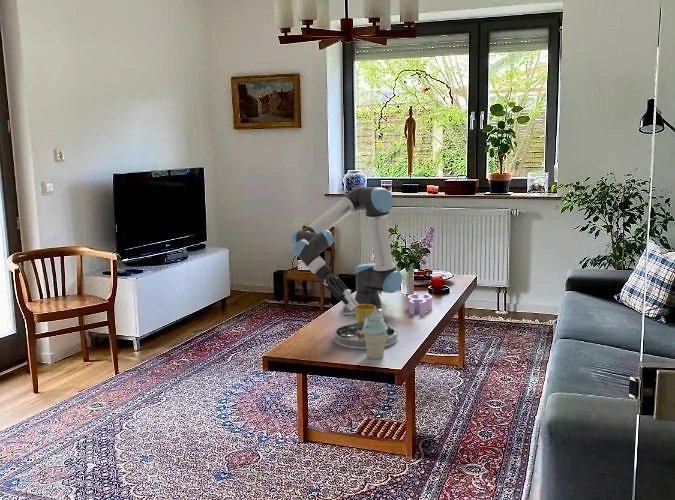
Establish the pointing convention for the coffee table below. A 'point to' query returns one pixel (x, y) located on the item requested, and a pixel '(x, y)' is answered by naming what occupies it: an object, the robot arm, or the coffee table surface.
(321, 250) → the robot arm
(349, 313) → the grey round-based stand
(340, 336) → the grey round tray
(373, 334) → the ice cream cone
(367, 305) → the plant pot
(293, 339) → the coffee table surface
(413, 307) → the clip
